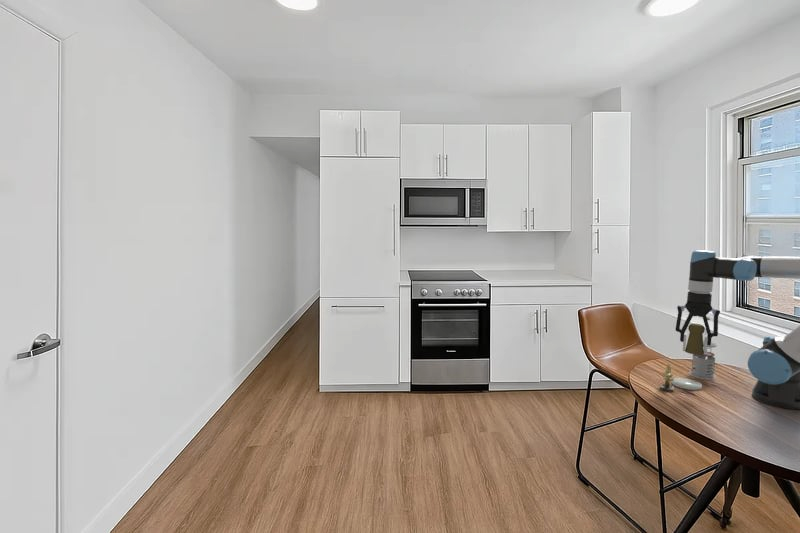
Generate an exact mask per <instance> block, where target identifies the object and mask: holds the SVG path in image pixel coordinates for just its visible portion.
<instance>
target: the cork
mask: <svg viewBox="0 0 800 533" xmlns="http://www.w3.org/2000/svg"><path fill="white" fill-rule="evenodd" d="M687 329H688V332H689V333H688V336H687V340H686V347H685V351H684V352H685V353H687V354H690V355H693V354H695V355H703V354H704V347H703V340H704V337H703V336H704V335H703V334H704V333H705V332H706V328H705V325H704V324H699V323H689V325H688V327H687Z"/></svg>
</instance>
